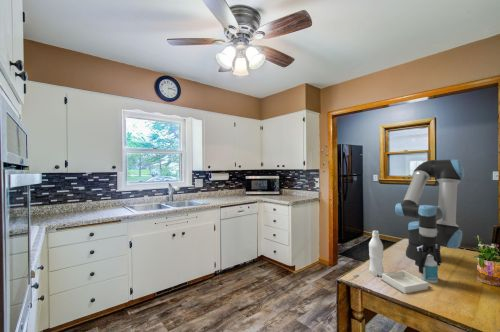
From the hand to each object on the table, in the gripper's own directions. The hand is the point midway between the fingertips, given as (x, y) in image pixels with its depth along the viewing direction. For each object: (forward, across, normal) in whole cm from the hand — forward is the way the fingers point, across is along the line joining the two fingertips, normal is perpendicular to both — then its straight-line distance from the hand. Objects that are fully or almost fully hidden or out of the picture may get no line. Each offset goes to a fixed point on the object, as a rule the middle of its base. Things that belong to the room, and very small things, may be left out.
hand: (428, 277), depth 124 cm
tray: (+1, +16, 0) cm, 16 cm away
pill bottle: (+2, 0, 0) cm, 2 cm away
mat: (+2, +15, 0) cm, 15 cm away
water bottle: (+2, +21, -13) cm, 25 cm away
